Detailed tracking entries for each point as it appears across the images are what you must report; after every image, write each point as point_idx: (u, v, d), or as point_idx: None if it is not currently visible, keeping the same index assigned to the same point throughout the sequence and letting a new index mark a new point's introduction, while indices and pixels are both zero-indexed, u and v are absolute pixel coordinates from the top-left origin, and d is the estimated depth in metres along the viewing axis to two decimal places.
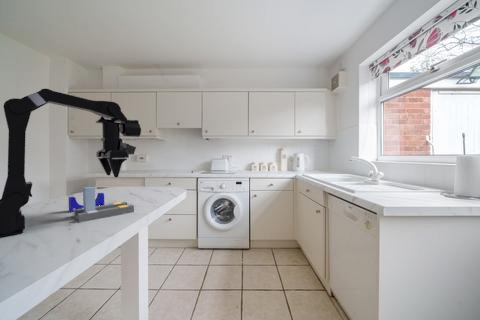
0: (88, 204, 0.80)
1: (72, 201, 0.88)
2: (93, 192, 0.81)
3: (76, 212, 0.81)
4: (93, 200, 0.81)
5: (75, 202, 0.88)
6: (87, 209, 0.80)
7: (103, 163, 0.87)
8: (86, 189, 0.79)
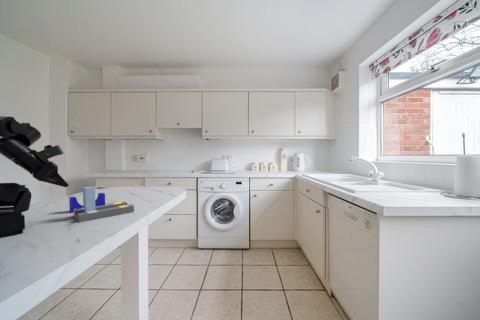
0: (88, 204, 0.80)
1: (73, 201, 0.87)
2: (93, 192, 0.81)
3: (76, 212, 0.81)
4: (93, 200, 0.81)
5: (76, 202, 0.88)
6: (87, 209, 0.80)
7: None
8: (86, 189, 0.79)
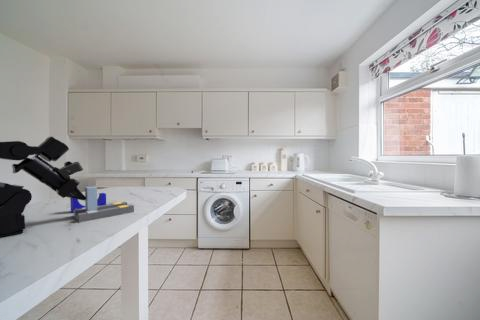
0: (90, 204, 0.80)
1: (74, 201, 0.87)
2: (95, 192, 0.81)
3: (76, 212, 0.81)
4: (95, 200, 0.81)
5: (77, 202, 0.88)
6: (89, 209, 0.80)
7: None
8: (88, 189, 0.80)
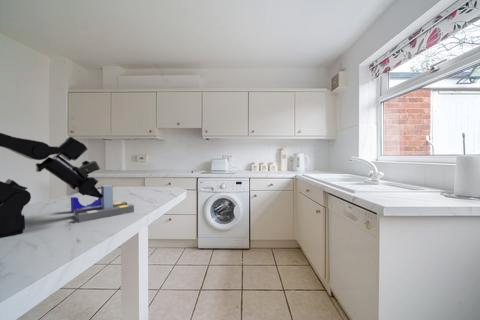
0: (106, 201, 0.84)
1: (75, 201, 0.87)
2: (111, 190, 0.85)
3: (76, 212, 0.81)
4: (111, 198, 0.85)
5: (78, 202, 0.88)
6: (105, 206, 0.84)
7: None
8: (104, 187, 0.83)
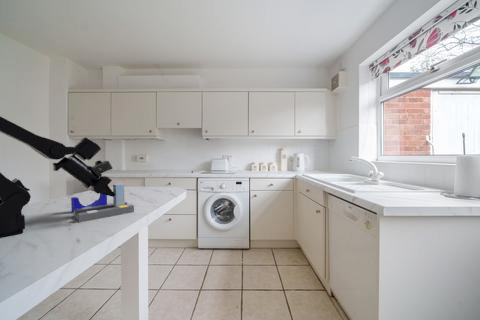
0: (118, 199, 0.87)
1: (75, 202, 0.87)
2: (122, 189, 0.88)
3: (76, 212, 0.81)
4: (122, 196, 0.88)
5: (78, 203, 0.87)
6: (117, 204, 0.87)
7: None
8: (117, 186, 0.86)
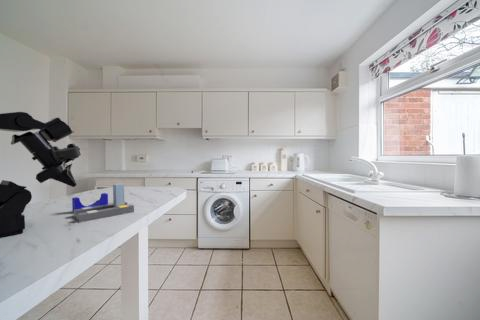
0: (118, 200, 0.87)
1: (76, 202, 0.86)
2: (122, 189, 0.88)
3: (76, 212, 0.81)
4: (122, 196, 0.88)
5: (79, 203, 0.87)
6: (117, 204, 0.87)
7: None
8: (117, 186, 0.86)
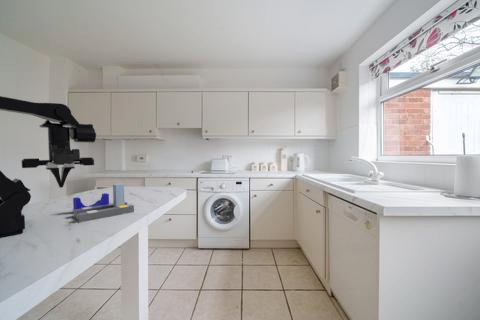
0: (118, 200, 0.87)
1: (77, 202, 0.86)
2: (122, 189, 0.88)
3: (76, 212, 0.81)
4: (122, 196, 0.88)
5: (80, 203, 0.87)
6: (117, 204, 0.87)
7: (61, 172, 0.77)
8: (117, 186, 0.86)
